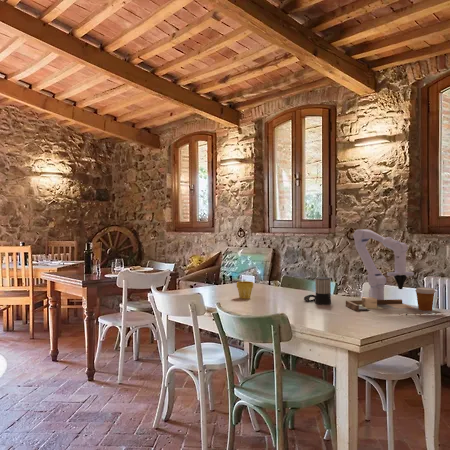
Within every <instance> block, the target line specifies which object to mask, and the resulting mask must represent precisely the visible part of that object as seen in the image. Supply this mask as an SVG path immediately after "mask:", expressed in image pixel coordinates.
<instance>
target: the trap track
mask: <svg viewBox="0 0 450 450" xmlns="http://www.w3.org/2000/svg"><path fill="white" fill-rule="evenodd" d="M345 307H347V308H349V309H351V310H353V311H354V312H371V310H386V309H388V310H389V309H390V310H391V309H392V310H393V309H415V307H413V306H411V305H408V304H405V303H403V299H399V298H398V299H384V300H377V307H373V308H366V307H364V306H362V299H356V300H345Z"/></svg>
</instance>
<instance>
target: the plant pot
mask: <svg viewBox="0 0 450 450" xmlns="http://www.w3.org/2000/svg"><path fill="white" fill-rule="evenodd" d="M236 288H237V291H238V297H239V299H241V300H242V299H243V300H246V299H251V296H252V290H253V288H254V282H253V281H245V280H242V281H237V282H236Z"/></svg>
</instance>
